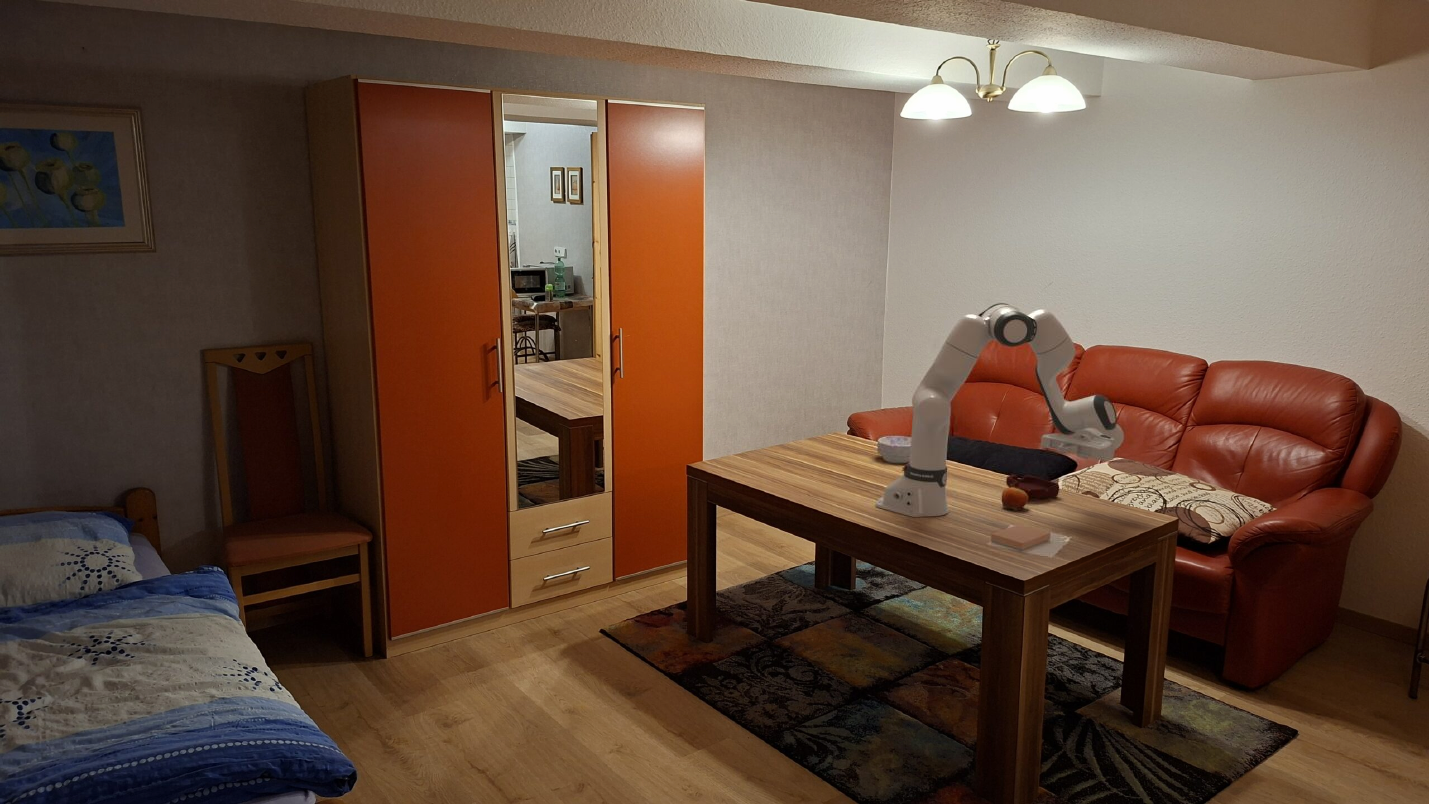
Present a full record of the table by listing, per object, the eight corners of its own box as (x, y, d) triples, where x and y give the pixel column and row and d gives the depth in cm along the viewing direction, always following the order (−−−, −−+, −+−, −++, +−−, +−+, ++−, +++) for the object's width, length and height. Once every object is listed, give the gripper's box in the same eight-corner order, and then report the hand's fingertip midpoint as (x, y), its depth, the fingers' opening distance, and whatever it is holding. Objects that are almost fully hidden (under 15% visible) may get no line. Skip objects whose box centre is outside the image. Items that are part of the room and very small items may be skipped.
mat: (986, 545, 268) (986, 544, 268) (1011, 526, 284) (1011, 524, 284) (1051, 559, 257) (1051, 557, 257) (1073, 538, 274) (1073, 536, 274)
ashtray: (1061, 506, 305) (1063, 491, 304) (1008, 502, 309) (1009, 487, 308) (1055, 490, 322) (1056, 476, 321) (1004, 487, 326) (1005, 473, 325)
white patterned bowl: (879, 465, 352) (880, 444, 350) (874, 455, 367) (875, 435, 365) (921, 466, 351) (922, 445, 350) (914, 455, 366) (915, 435, 364)
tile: (1049, 540, 271) (1021, 551, 262) (1019, 531, 279) (990, 541, 270) (1050, 532, 271) (1022, 543, 262) (1019, 523, 278) (991, 533, 269)
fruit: (995, 506, 298) (1001, 482, 300) (1001, 513, 305) (1006, 490, 307) (1021, 511, 294) (1026, 486, 296) (1026, 518, 300) (1032, 494, 302)
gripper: (1056, 426, 293) (1031, 432, 285) (1120, 439, 278) (1095, 446, 269) (1054, 446, 294) (1029, 453, 286) (1117, 460, 279) (1093, 468, 270)
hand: (1061, 450), depth 277 cm, fingers closed
